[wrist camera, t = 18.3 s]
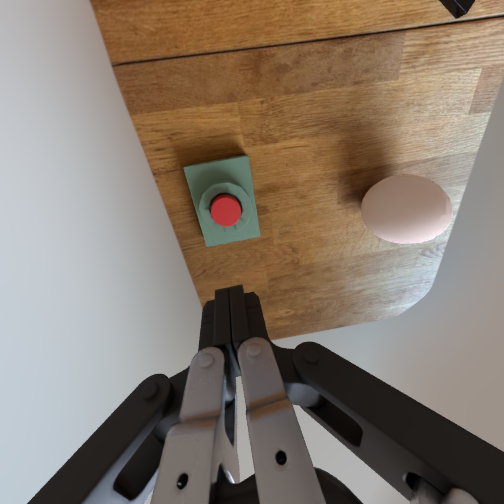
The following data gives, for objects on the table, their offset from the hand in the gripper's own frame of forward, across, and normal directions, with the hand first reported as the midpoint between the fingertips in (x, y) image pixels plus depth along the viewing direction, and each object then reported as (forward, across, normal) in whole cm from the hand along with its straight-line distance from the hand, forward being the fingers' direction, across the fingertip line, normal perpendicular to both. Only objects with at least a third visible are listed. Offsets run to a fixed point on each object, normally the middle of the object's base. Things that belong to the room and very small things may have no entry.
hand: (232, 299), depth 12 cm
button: (+18, 0, 0) cm, 18 cm away
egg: (+21, -23, +4) cm, 31 cm away
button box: (+21, 0, 0) cm, 21 cm away
